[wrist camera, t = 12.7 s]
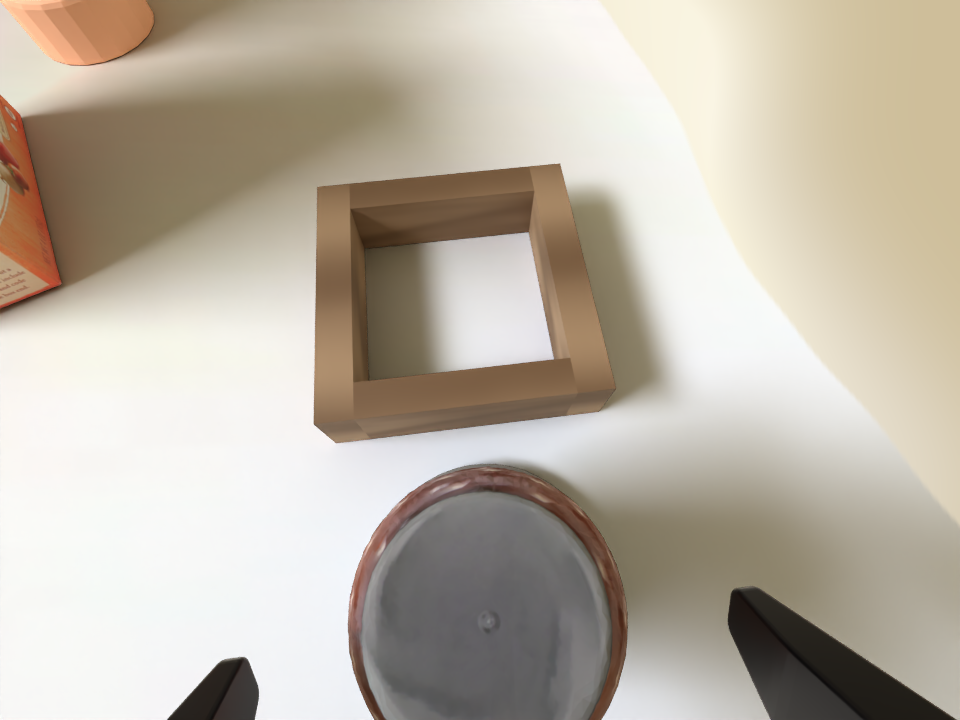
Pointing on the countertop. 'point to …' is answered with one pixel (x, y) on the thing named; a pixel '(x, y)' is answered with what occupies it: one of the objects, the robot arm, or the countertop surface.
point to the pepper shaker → (83, 27)
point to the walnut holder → (436, 217)
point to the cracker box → (21, 218)
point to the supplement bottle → (487, 605)
